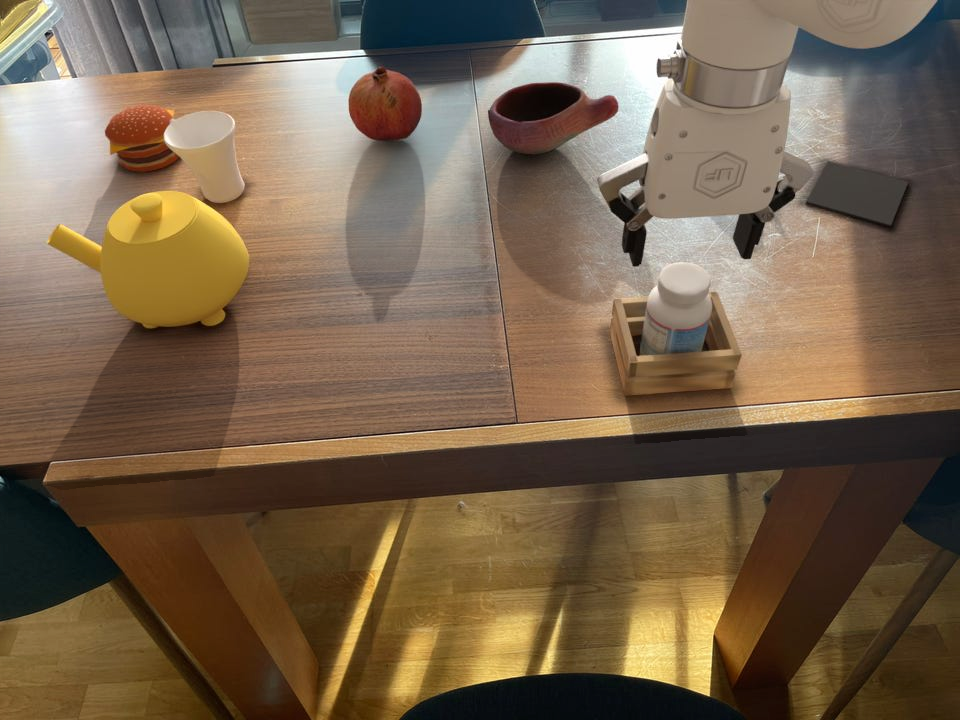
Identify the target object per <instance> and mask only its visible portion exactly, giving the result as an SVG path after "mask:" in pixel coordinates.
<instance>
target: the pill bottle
mask: <svg viewBox="0 0 960 720" xmlns="http://www.w3.org/2000/svg"><path fill="white" fill-rule="evenodd" d="M711 281H712V280H711V277H710V274H709V272H708V271H706V270H705V269H704V268H703V267H701V266H699V265H697V264H695V263H691V262H686V261H684V262H683V261H679V262H673V263H670V264H668V265H666V266H665V267H663V268H662V269H661V271H660V273H659V275H658V280H657V284H656V286H655V287H653V288H652V289H651V291H650V293H649V294H648V296H649V297H648V301H647V307H646V314H645V320H644V326H643V333H642V335H641V342H640V346H639V347H640V348H639V356H647V355H660V354H674V353H688V352H702V351H703V349H704V348H703V347H704V342H705V341H706V339H705V336H706V332H707V328H708V324H709V320H710V316H711V312H712V301H711V298H710V296H709V294H708V293H709V292H710V287H711Z"/></svg>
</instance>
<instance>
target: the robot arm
mask: <svg viewBox="0 0 960 720" xmlns="http://www.w3.org/2000/svg"><path fill="white" fill-rule="evenodd" d="M938 1H939V0H687V1H686V6H685V7H686V8H685V13H684V19H683V24H682V28H681V29H682V30H681V34H680V35H681V36H680V39H678V40H677V42H676V48H675V49H674V51H673V54H668V56H661V57H660V56H659V57H658V58H657V60H656V75H657V78H667V79H666V80H665V82H664V84H663V86H662V89H661V90H660V91H661V92H660V94H659V97H658V99H657V102H656V105H655V107H654V110H653V113H652V115H651V119H650V122H649V126H648V128H647V129H648V130H647V133H646V138H645V140H644V141H645V142H644V145H643V150H642V154H641V155H639V156H636V157H635V158H633V159H631V160H628V161H626V162H624V163H622V164H620V165H618V166H615V167H614V168H612V169H609V170H608V171H606V172H603V173H601V174H599V175H598V177H597V179H596V180H597V184H598V188H599V191H600V194H601V195H602V197H603V199H604V201H605V203H606V204H607V206H608V208H609V210H610V212H611V213H612V214H613V215H614V216H616V217H617V218H618V219H619V220H620V221H621V222H623V230H622V237H621V249H622V251H623V254H628V255H629V258H630V262H631V265H632V267H633V268H634V267H640V265H642V262H643V258H644V252H645V245H646V239H647V233H648V232H647V228H646V226H645V225H646V224H647V223H648V222H650V221H651V220H652V219H653V218H658V219H667V220H668V219H669V220H671V219H673V220H674V219H689V218H706V217H722V216H723V217H724V216H735V215H736V216H737V215H738V217H737V220H736V224H735V227H734V232H733V235H732V240H733V243H734V245H735V247H736V249H737V251H738V254H739V256H740V258H741V259H743V260H751V258H752V256H753V253H754V251H755V246H758V245H759V244H760V242H761V237H762V234H763V232H764V228H765V225H766V223H769V222H771V221H772V220H774V218H775V215H776V214H775V213H776V212H778V211H780V209H782V208H783V207H785V206H786V205H788V204H790V203H791V202H792V201H793V200H794V199H795V198H796V193H797V192H799V191H801V189H802V188H803V187H804V186H805V185H806V184H807V183H808V182H809V181H810V180H811V179H812V178H813V176H814V174H815V172H814V170H813V168H812V167H811V164H810V163H809V162H808V161H806V160H805V159H802V158H800V157H797V156H796V155H794V154H791V153H789V152H787V151H785V149H786V144H787V139H788V138H787V137H788V129H789V123H790V115H791V99H792V98H791V97H792V93H791V89H790V88H789V87H788V86H787V85H786V84H785V82H784V79H785V76H786V72H787V69H788V65H789V62H790V59H791V55H792V51H793V49H794V45H795V42H796V38H797V35H798V33H799V29H801V30H803V31H805V32H807V33H809V34H811V35H813V36H815V37H818V38H819V39H821V40H824V41H826V42H829V43H831V44H834V45H836V46H841V47H845V48H850V49H858V50H859V49H861V50H864V49H865V50H866V49H871V48H872V49H873V48H878V47H883V46H886V45H889V44H891V43H893V42H896V41H897V40H899V39H901V38H902V37H904V36H906V35H907V34H908V33H910V32H911V31H912V30H913V29H915V27H917V25H919V24H920V23H921V21H923V20H924V19H925V18H926V16H927V14H929V12H930V11H931V10H932V8H933V7H934V6H935V5H936V3H937V2H938ZM780 174H782V175H784V176H783V179H780V180H779V177H780ZM635 182H638V183H639V187H638V188H637V189H636V190H635V191H634V192H633V193H632V194H631V195H630V196H629V197H627V196H625V194H623V193H622V192H621V189H623V188H625V187H627V186H628V185H631V184H633V183H635Z"/></svg>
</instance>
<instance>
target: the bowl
mask: <svg viewBox="0 0 960 720" xmlns="http://www.w3.org/2000/svg"><path fill="white" fill-rule="evenodd" d="M619 107H620V106H619V102H618V99H617V98H616V97H615V95H611V94H607V95H604V96H602V97H599V98H595V99H594V98H590V97H589V96H587V94H586V93H585V91H584V90H583V89H581V88H580V87H577V86H575V85H572V84H569V83H566V82H558V81H549V82H548V81H547V82H531V83H527V84H522V85H519V86H515V87H513V88H510V89H508V90H506V91H505V92H503V93H502V94H501V95H500V96H498V97H497V98H496V99H495V100H494V101H493V103H492V104H491V106H490V108H489V109H487V118H488V122H489V126H490V129H491V131H492V134H493V136H494V137H495V138H496V140H497V141H498V142H499V143H500V144H501V145H502V146H503V147H505V148H507V149H508V150H510V151H511V152H512V151H513V152H515V153H518V154H519V153H520V154H525V155H541V154H545V153H548V152H551V151H553V150H555V149H557V148H559V147H561V146H563V145H564V144H566V143H568V142H569V141H570V140H572V139H574V138H576V137H578V136H579V135H581V134H583V133H584V132H587V131H589V130H591V129H593V128H594V127H596V126H599V125H600V124H603V123H604V122H607V121H609V120H611V119H612V118H613V117H614V116H616V115H617V113H618V112H619Z"/></svg>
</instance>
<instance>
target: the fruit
mask: <svg viewBox="0 0 960 720" xmlns="http://www.w3.org/2000/svg"><path fill="white" fill-rule="evenodd" d="M348 113H349V117H350V119H351V121H352V123H353V124H354V126H355V128H356V130H358V131H359V132H360V133H361V134H362V135H363V136H365V137H366V138H368V139H370V140H373V141H377V142H389V141H400V140H405V139H407V138H409V137H410V136H411V135H412V134H413V133H414V131H415V130H416V129H417V127H418V125H419V123H420V121H421V118H422V116H423V115H422V114H423V104H422V98H421V96H420V93H419V91H418V89H417V87H416V86H415V84H414V83H413V81H412V80H410V78H409V77H407V76H406V75H403V74H402V73H400V72H398V71H393V70H389V69H386V68H385V67H384V66H379V67H378V68H376V69H375V71H373V72H369V73H365V74H363V76H361V77H360V78H359V79H357V80H356V81H355V83H354V85H353V86H352V87H351V89H350V91H349V95H348Z"/></svg>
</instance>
